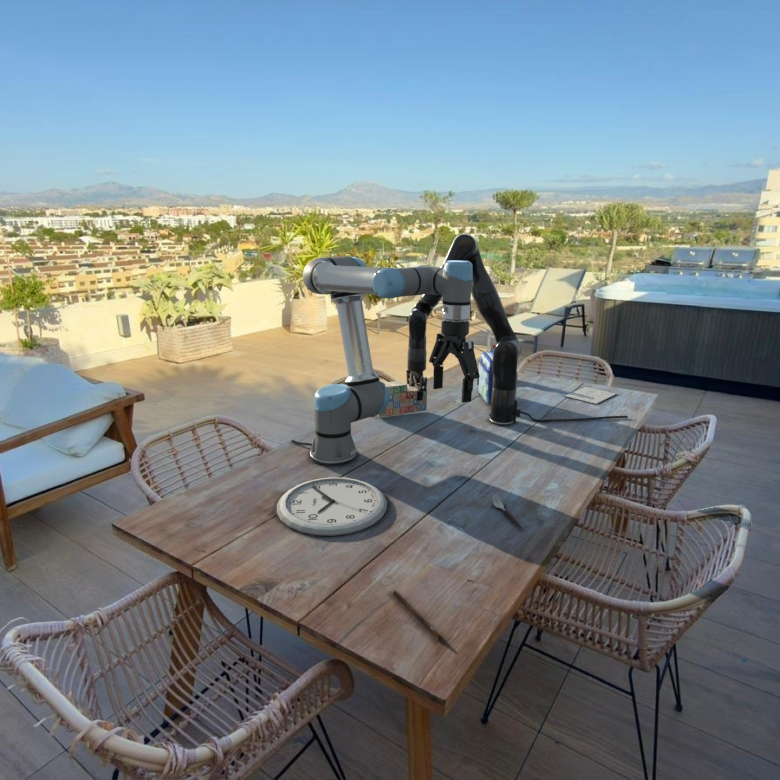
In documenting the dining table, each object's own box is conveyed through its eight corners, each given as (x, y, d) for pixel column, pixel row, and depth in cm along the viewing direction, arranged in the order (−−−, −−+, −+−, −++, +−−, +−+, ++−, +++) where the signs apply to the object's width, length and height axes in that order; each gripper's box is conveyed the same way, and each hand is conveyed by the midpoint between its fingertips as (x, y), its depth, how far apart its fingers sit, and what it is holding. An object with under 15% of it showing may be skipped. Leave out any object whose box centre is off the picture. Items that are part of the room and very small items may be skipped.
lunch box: (475, 390, 246) (478, 346, 240) (498, 390, 246) (501, 347, 240) (484, 408, 221) (487, 360, 215) (509, 409, 221) (513, 360, 215)
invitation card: (585, 386, 254) (616, 393, 244) (585, 387, 254) (616, 394, 244) (564, 395, 239) (596, 403, 229) (564, 396, 239) (596, 404, 229)
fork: (516, 530, 132) (517, 523, 131) (489, 500, 147) (489, 493, 146) (526, 529, 133) (526, 522, 132) (497, 499, 147) (498, 492, 147)
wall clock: (392, 527, 129) (268, 531, 127) (391, 533, 130) (269, 537, 127) (383, 473, 158) (282, 475, 155) (383, 478, 158) (282, 480, 156)
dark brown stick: (392, 594, 108) (393, 590, 108) (394, 593, 109) (394, 589, 108) (438, 640, 96) (438, 636, 96) (440, 639, 97) (440, 635, 96)
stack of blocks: (419, 406, 220) (420, 378, 216) (426, 410, 214) (427, 382, 210) (372, 412, 211) (372, 383, 207) (378, 417, 206) (379, 387, 202)
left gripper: (419, 313, 149) (416, 384, 156) (473, 328, 129) (468, 410, 135) (440, 312, 153) (437, 381, 159) (497, 326, 132) (490, 405, 138)
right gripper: (400, 355, 214) (400, 394, 219) (416, 363, 201) (415, 404, 206) (416, 353, 217) (416, 392, 222) (433, 361, 204) (432, 401, 209)
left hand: (451, 394), depth 147 cm, fingers open, 13 cm apart
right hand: (415, 397), depth 214 cm, fingers closed on stack of blocks, 6 cm apart
